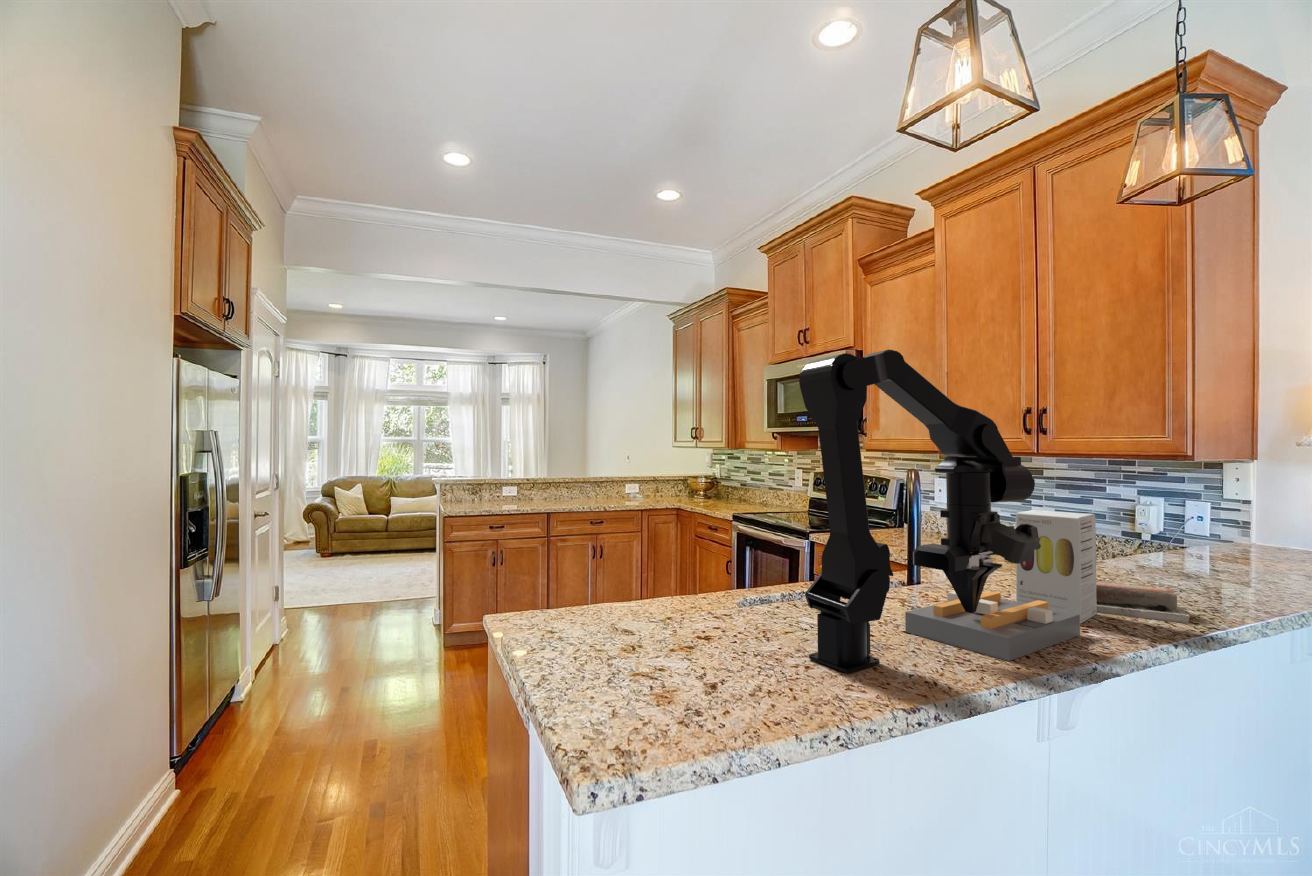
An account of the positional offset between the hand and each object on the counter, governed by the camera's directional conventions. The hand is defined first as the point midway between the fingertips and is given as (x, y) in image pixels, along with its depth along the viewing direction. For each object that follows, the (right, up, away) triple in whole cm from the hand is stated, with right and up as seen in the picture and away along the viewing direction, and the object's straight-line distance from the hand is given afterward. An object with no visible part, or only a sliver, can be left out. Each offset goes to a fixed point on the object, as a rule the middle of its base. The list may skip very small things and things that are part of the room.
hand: (970, 612), depth 85 cm
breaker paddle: (+3, -1, +2) cm, 4 cm away
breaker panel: (+5, -4, +3) cm, 7 cm away
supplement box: (+22, -4, +14) cm, 26 cm away
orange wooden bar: (+3, -1, +6) cm, 7 cm away
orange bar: (+7, -1, 0) cm, 7 cm away
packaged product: (+34, -5, +17) cm, 38 cm away
